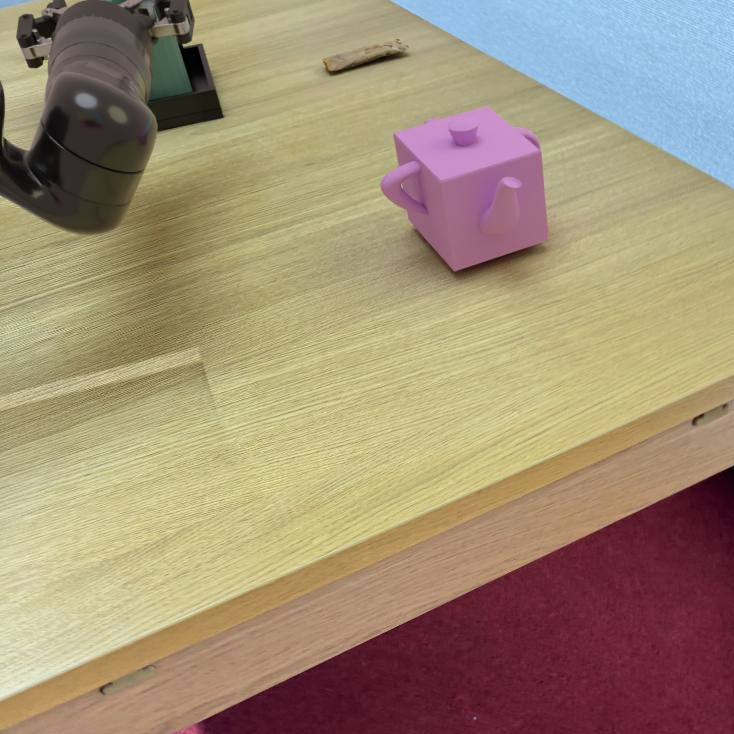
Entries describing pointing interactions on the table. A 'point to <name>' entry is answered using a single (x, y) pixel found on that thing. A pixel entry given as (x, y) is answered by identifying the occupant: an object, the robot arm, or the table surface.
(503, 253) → the teapot
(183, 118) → the dish rack
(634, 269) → the table surface
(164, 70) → the jar
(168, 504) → the table surface
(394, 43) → the snack bar
